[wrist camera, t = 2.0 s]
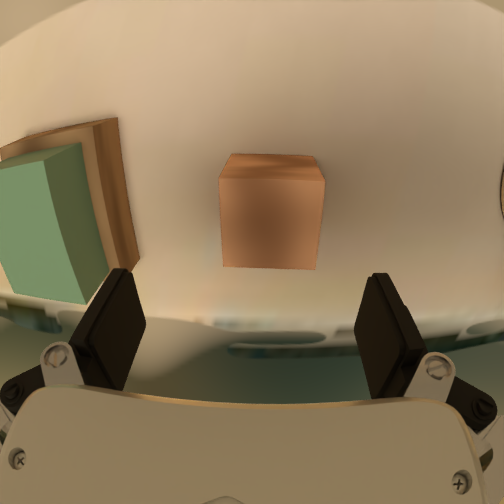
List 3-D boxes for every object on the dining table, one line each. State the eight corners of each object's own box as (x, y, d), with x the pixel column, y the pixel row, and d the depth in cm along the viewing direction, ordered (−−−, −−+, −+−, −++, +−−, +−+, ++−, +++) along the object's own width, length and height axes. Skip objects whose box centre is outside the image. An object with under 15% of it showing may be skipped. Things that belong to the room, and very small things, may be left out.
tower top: (81, 142, 16) (43, 160, 13) (109, 271, 22) (86, 305, 18) (7, 158, 17) (-27, 176, 13) (39, 265, 22) (14, 293, 19)
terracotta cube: (312, 156, 20) (325, 181, 15) (306, 227, 23) (315, 269, 18) (231, 153, 20) (218, 178, 15) (233, 224, 23) (223, 266, 18)
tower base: (120, 116, 19) (92, 126, 16) (141, 255, 26) (124, 283, 22) (29, 135, 20) (-1, 148, 16) (57, 251, 26) (35, 274, 23)
